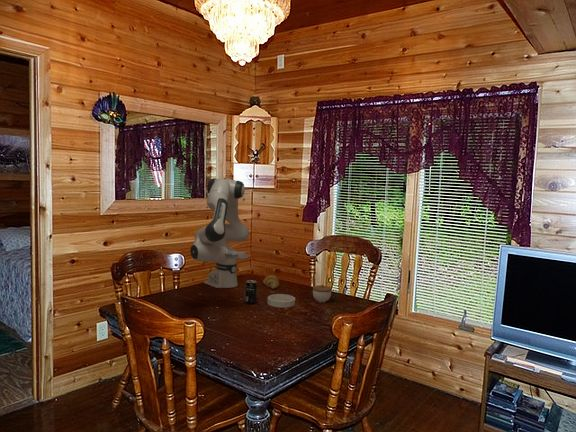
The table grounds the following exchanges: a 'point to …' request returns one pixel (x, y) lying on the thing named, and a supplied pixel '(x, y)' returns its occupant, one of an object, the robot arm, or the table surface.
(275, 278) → the croissant
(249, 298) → the beverage can
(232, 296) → the table surface
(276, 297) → the pale grey round disc
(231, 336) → the table surface
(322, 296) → the lidded jar
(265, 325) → the table surface
